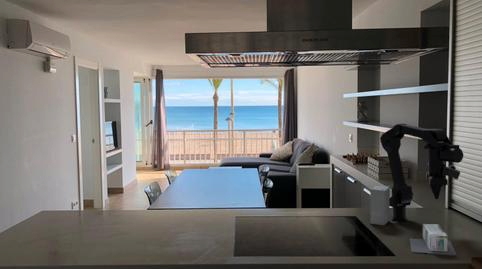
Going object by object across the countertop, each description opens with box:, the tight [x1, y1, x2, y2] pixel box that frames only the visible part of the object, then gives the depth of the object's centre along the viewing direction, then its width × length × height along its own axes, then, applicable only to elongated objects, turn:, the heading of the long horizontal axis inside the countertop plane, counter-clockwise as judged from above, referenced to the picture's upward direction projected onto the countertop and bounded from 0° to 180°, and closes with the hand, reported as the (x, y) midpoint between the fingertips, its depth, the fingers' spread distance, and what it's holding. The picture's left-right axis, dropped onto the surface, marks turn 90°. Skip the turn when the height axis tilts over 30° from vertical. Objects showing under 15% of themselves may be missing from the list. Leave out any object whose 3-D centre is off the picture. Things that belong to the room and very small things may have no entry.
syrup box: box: [422, 223, 448, 251], centre depth 151 cm, size 6×6×14 cm
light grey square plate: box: [409, 238, 457, 257], centre depth 150 cm, size 15×14×1 cm
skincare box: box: [369, 185, 391, 226], centre depth 184 cm, size 8×7×16 cm
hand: (436, 198), depth 168 cm, fingers closed
